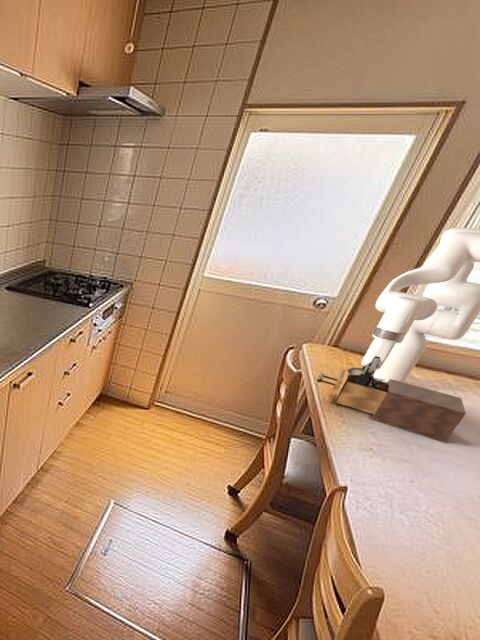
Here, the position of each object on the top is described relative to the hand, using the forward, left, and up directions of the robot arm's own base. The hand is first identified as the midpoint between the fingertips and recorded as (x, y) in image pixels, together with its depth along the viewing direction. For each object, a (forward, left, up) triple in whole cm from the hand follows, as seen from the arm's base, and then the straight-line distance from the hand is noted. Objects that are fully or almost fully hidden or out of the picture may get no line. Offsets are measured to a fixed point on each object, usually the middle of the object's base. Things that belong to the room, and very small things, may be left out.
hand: (362, 381), depth 147 cm
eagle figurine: (+2, 0, -1) cm, 2 cm away
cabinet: (0, +15, -9) cm, 18 cm away
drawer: (0, -1, -9) cm, 9 cm away
